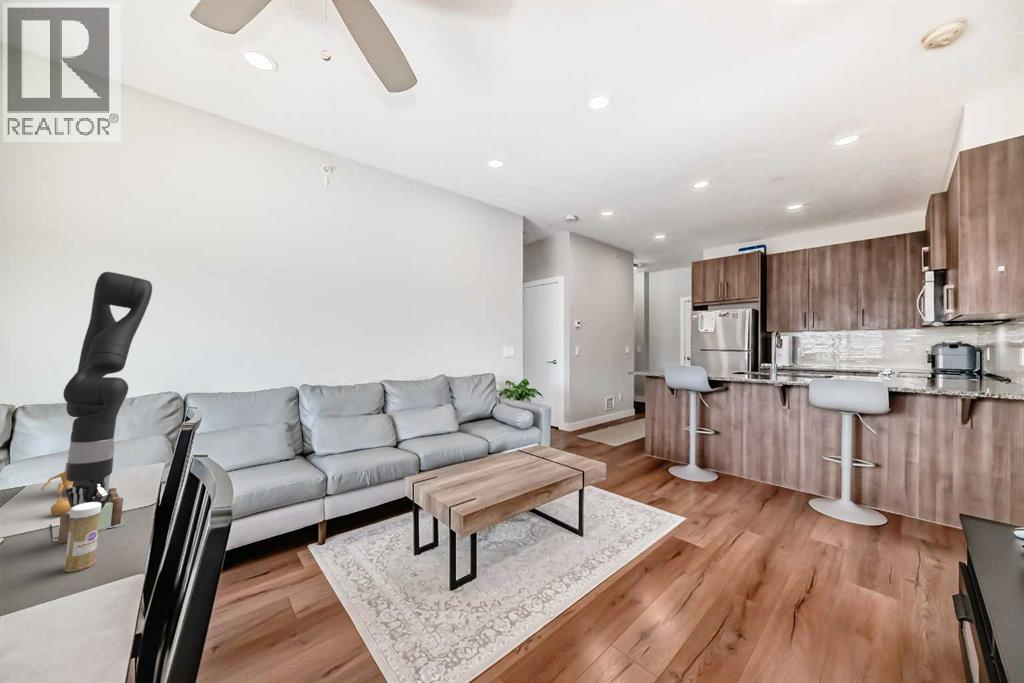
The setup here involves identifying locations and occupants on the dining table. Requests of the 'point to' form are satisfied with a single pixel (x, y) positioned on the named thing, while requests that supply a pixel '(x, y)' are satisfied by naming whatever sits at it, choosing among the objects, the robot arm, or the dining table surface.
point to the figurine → (60, 505)
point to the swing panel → (103, 523)
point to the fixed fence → (115, 506)
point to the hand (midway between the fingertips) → (84, 528)
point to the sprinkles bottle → (82, 536)
